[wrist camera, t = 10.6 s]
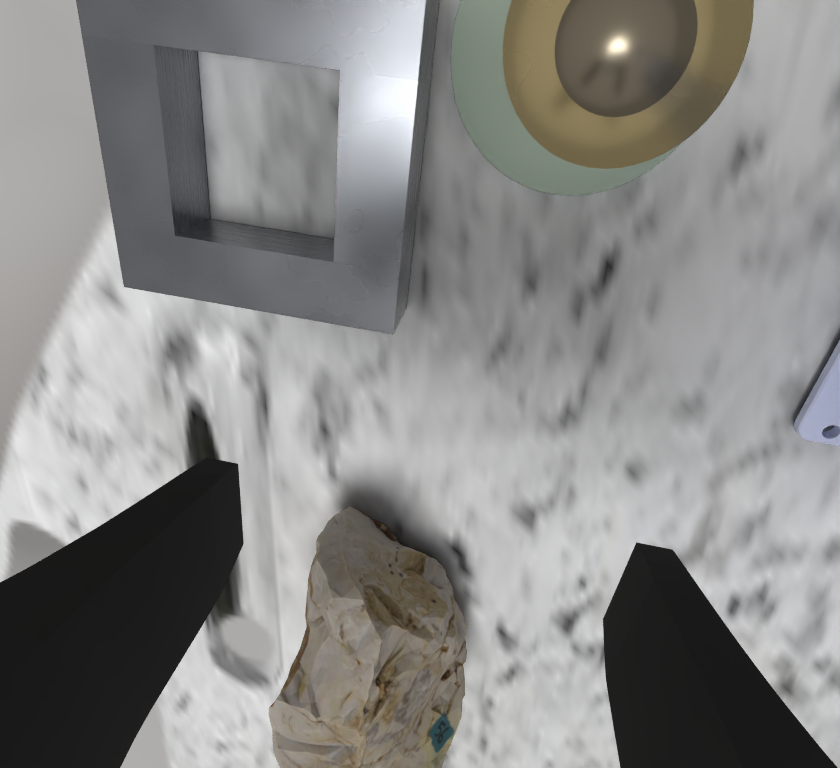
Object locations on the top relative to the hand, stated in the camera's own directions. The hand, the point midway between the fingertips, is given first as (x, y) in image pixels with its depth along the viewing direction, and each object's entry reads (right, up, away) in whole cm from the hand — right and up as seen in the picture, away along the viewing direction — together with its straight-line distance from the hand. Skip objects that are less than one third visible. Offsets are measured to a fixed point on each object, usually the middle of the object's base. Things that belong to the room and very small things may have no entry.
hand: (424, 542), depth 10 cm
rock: (-1, -7, +17) cm, 18 cm away
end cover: (+4, +11, +4) cm, 13 cm away
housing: (-4, +10, +7) cm, 13 cm away
